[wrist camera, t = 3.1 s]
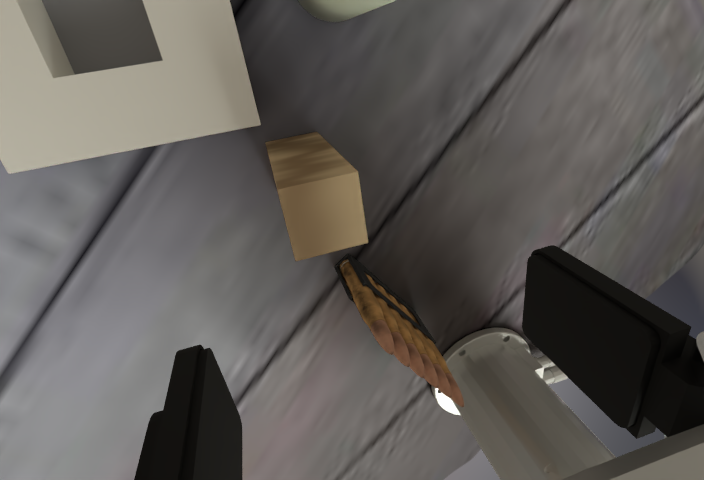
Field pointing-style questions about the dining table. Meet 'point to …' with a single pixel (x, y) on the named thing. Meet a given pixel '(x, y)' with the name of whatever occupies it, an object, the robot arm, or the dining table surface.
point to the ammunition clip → (397, 327)
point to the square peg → (317, 195)
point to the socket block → (116, 77)
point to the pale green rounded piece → (340, 8)
